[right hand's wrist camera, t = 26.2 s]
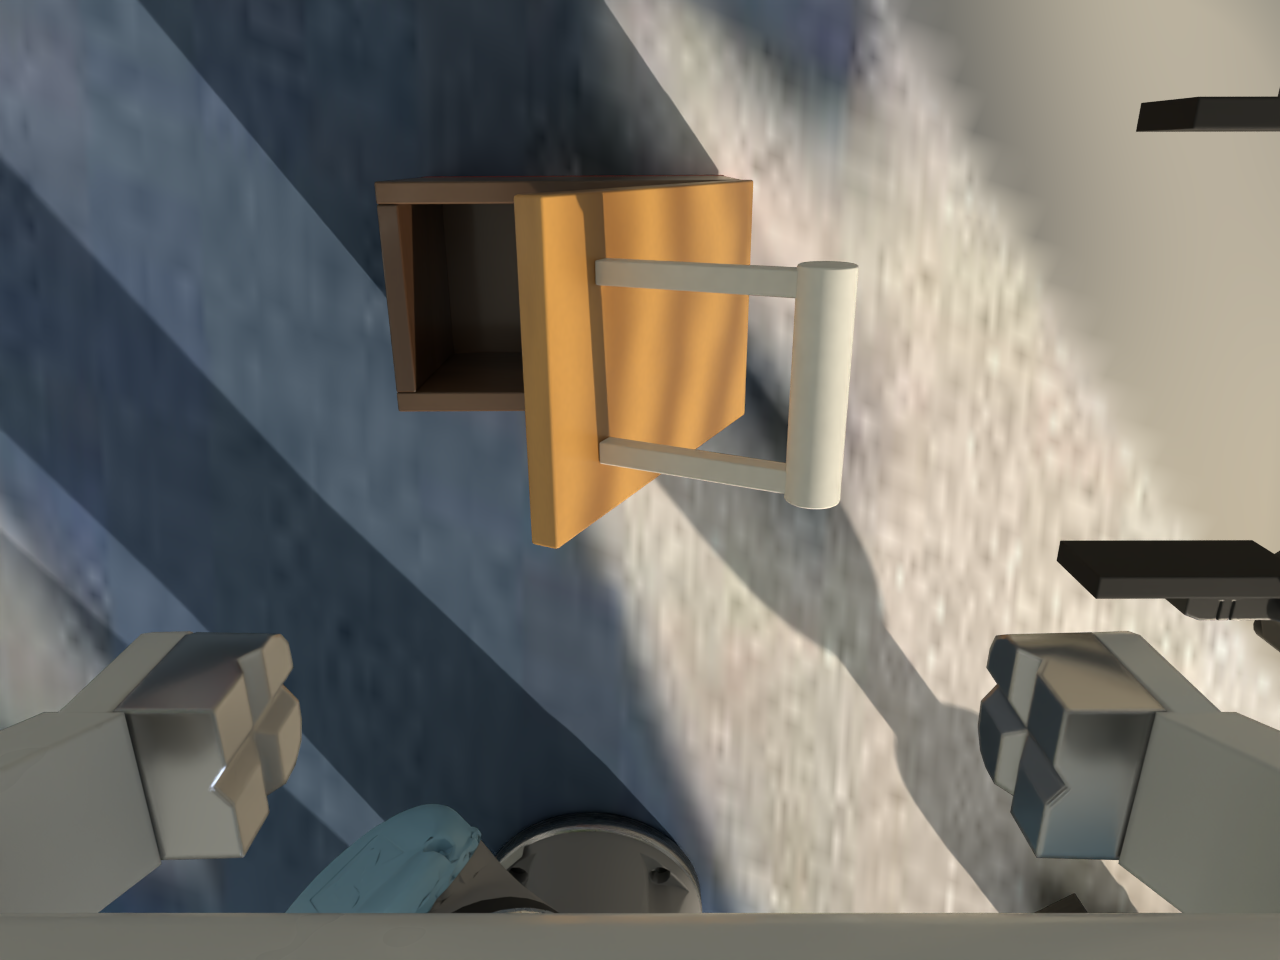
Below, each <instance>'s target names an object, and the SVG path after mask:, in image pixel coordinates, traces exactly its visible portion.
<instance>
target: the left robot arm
mask: <svg viewBox="0 0 1280 960" xmlns="http://www.w3.org/2000/svg"><path fill="white" fill-rule="evenodd" d="M1136 131H1137V132H1170V131H1171V132H1175V131H1176V132H1177V131H1179V132H1180V131H1182V132H1183V131H1280V89H1279V94H1278V97H1193V98H1184V99H1175V100H1165V101H1156V102H1147V103H1141V108H1140V114H1139V119H1138V124H1137V130H1136ZM1057 562H1059V563H1060V564H1061V565H1062V566H1063V567H1064V568H1065V569H1066V570H1067V571H1068V572H1069V573H1070V574H1071V575H1072V576H1073V577H1074V578H1075V579H1076V580H1077V581H1078V582H1079V583H1080V584H1081V585H1082V586H1083V587H1084V588H1085V589H1086V590H1088V591H1089V592H1090V593H1091V594H1092V595H1093V596H1094V597H1095V598H1096V599H1140V598H1165V599H1166V600H1167V601H1169V602H1170V603H1171V604H1172V605H1173V606H1175V607H1176V608H1177V609H1178V610H1179V611H1181V612H1182V613H1183V614H1184V615H1186V616H1189V617H1192V618H1194V619H1197V620H1215V619H1217V620H1228V619H1229V620H1255V621H1254V624H1253V625H1254V631H1255V632H1256V634H1257V635H1258V636H1260V637H1261V638H1262V639H1264V640H1265V641H1266V642H1267V643H1269V644H1270V645H1271V646H1273V647H1274V648H1275V649H1276V650H1278V651H1279V652H1280V551H1279V552H1277V553H1275V554H1273V553H1272V552H1270V551H1268V550H1267V549H1265V548H1264V547H1262V546H1261V545H1259V544H1257V543H1256V542H1254V541H1252V540H1192V541H1060V546H1059V551H1058V557H1057ZM285 913H702V904H701V892H700V886H699V881H698V878H697V875H696V872H695V870H694V868H693V866H692V864H691V862H690V861H689V859H688V858H687V856H686V855H685V854H684V852H683V851H682V850H681V849H680V848H679V847H678V846H677V845H676V844H675V843H674V842H673V841H672V840H671V839H669V838H668V837H667V836H665V835H664V834H662V833H661V832H659V831H658V830H656V829H654V828H652V827H650V826H648V825H646V824H644V823H642V822H639V821H636V820H634V819H630V818H627V817H623V816H618V815H613V814H605V813H575V814H567V815H562V816H557V817H554V818H550V819H547V820H544V821H541V822H539V823H536V824H534V825H532V826H530V827H528V828H526V829H525V830H523V831H522V832H520V833H518V834H517V835H516V836H514V837H513V838H512V839H511V840H510V841H508V842H507V843H506V844H505V845H504V846H503V847H502V849H501V850H500V851H499V852H498V853H497V855H496V856H495V857H494V855H493V854H492V853H491V852H490V851H489V849H488V848H487V847H486V846H485V844H484V843H483V842H482V841H481V833H480V831H479V830H478V828H476V827H471V826H470V825H469V824H468V823H467V822H466V821H465V820H464V819H463V818H462V817H461V816H460V815H459V814H458V813H457V812H456V811H455V810H453V809H452V808H450V807H448V806H445V805H440V804H426V805H420V806H417V807H413V808H411V809H408V810H405V811H403V812H401V813H399V814H397V815H395V816H393V817H391V818H390V819H388V820H387V821H385V822H383V823H381V824H380V825H378V826H376V827H375V828H373V829H372V830H370V831H369V832H368V833H366V834H365V835H363V836H362V837H361V838H359V839H358V840H357V841H356V842H355V843H353V844H352V845H351V846H350V847H348V848H347V849H346V850H345V851H344V852H342V853H341V854H340V855H339V856H338V857H337V858H335V859H334V860H333V861H332V862H331V863H330V864H329V865H328V866H327V867H326V868H325V869H324V870H323V871H322V872H321V873H320V874H319V875H318V876H317V877H316V878H315V879H314V880H313V881H312V882H311V883H310V884H309V885H308V886H307V888H306V889H305V890H304V891H303V892H302V893H301V894H300V895H299V897H298V898H297V899H296V900H295V901H294V902H293V904H292V905H291V906H290V907H289V909H288V910H287V911H286V912H285Z"/></svg>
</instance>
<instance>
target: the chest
mask: <svg viewBox="0 0 1280 960" xmlns="http://www.w3.org/2000/svg"><path fill="white" fill-rule="evenodd" d="M724 180H740V179H735V178H731V177H726V176H724V175H625V176H452V177H421V178H410V179H399V180H388V181H377V182H375V194H376V202H377V204H378V205H377V212H378V221H379V231H380V240H381V250H382V259H383V268H384V278H385V287H386V296H387V306H388V315H389V324H390V334H391V343H392V352H393V362H394V371H395V381H396V390H397V392H398V393H397V400H398V409H399V411H525V398H524V380H523V361H522V343H521V324H520V306H519V287H518V268H517V250H516V231H515V213H514V196H515V195H517V194H531V193H546V192H561V191H576V190H590V189H605V188H620V187H635V186H650V185H664V184H679V183H694V182H709V181H724Z"/></svg>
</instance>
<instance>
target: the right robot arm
mask: <svg viewBox="0 0 1280 960" xmlns="http://www.w3.org/2000/svg"><path fill="white" fill-rule="evenodd" d="M293 668H294V667H293V662H292V657H291V652H290V648H289V643H288V641H287V640H286V639H285V638H284V637H283V636H282V635H281V634H267V633H215V632H195V633H193V632H190V631H182V632H151V633H145V634H141V635H140V636H139V637H138V638H137V639H136V640H135V641H134V642H133V643H131V644H130V645H129V646H128V647H127V648H126V649H125V650H124V651H123V652H122V653H121V654H120V655H119V656H118V657H117V658H116V659H115V660H113V661H112V662H111V663H110V664H109V665H108V666H107V667H106V668H105V669H104V670H103V671H102V672H101V673H100V674H99V675H98V676H96V677H95V678H94V679H93V680H92V681H91V682H90V683H89V684H88V685H87V686H86V687H85V688H84V689H83V690H82V691H81V692H80V693H78V694H77V695H76V696H75V697H74V698H73V699H72V700H71V701H70V702H69V703H68V704H67V705H66V706H65V707H64V708H63V709H62V710H60V711H59V712H43V713H41V714H39V715H36V716H34V717H32V718H29V719H27V720H25V721H22V722H20V723H18V724H15V725H13V726H11V727H8V728H6V729H3V730H1V731H0V960H1280V731H1279V730H1276V729H1274V728H1272V727H1269V726H1267V725H1265V724H1262V723H1260V722H1258V721H1255V720H1253V719H1251V718H1248V717H1246V716H1244V715H1241V714H1239V713H1237V712H1221V711H1220V710H1219V709H1217V708H1216V707H1215V706H1214V705H1213V704H1212V703H1211V702H1210V701H1209V700H1208V699H1207V698H1206V697H1205V696H1204V695H1203V694H1202V693H1201V692H1200V691H1198V690H1197V689H1196V688H1195V687H1194V686H1193V685H1192V684H1191V683H1190V682H1189V681H1188V680H1187V679H1186V678H1185V677H1184V676H1183V675H1182V674H1180V673H1179V672H1178V671H1177V670H1176V669H1175V668H1174V667H1173V666H1172V665H1171V664H1170V663H1169V662H1168V661H1167V660H1166V659H1165V658H1164V657H1163V656H1161V655H1160V654H1159V653H1158V652H1157V651H1156V650H1155V649H1154V648H1153V647H1152V646H1151V645H1150V644H1149V643H1148V642H1147V641H1146V640H1145V639H1144V638H1142V637H1141V636H1140V635H1138V634H1135V633H1132V632H1129V631H1118V632H1093V633H1092V632H1087V633H1047V634H1007V635H997V636H995V638H994V641H993V643H992V645H991V647H990V650H989V656H988V661H987V667H986V668H987V669H988V671H989V672H990V674H991V675H992V677H993V678H994V680H995V682H996V683H997V685H996V686H995V687H994V688H993V689H992V690H991V691H990V692H989V693H988V694H987V695H986V696H985V697H984V698H983V699H982V700H981V705H980V713H979V721H978V733H979V743H980V751H981V754H982V758H983V761H984V764H985V767H986V769H987V771H988V773H989V775H990V776H991V778H992V780H993V782H994V784H996V785H997V786H999V787H1001V788H1002V789H1004V790H1005V791H1007V792H1008V793H1010V794H1011V795H1013V800H1012V806H1011V814H1012V816H1013V817H1014V819H1015V821H1016V823H1017V824H1018V826H1019V828H1020V830H1021V831H1022V833H1023V835H1024V837H1025V838H1026V840H1027V842H1028V843H1029V845H1030V847H1031V849H1032V850H1033V852H1034V854H1035V856H1036V857H1037V858H1064V859H1101V860H1119V863H1118V864H1120V865H1121V866H1122V867H1123V868H1125V869H1126V870H1127V871H1129V872H1130V873H1131V874H1133V875H1134V876H1135V877H1136V878H1138V879H1139V880H1140V881H1142V882H1143V883H1144V884H1146V885H1147V886H1148V887H1149V888H1151V889H1152V890H1153V891H1155V892H1156V893H1157V894H1159V895H1160V896H1161V897H1162V898H1164V899H1165V900H1166V901H1168V902H1169V903H1170V904H1172V905H1173V906H1174V907H1175V908H1177V909H1178V910H1179V911H1181V912H1182V913H98V912H100V911H101V910H102V909H103V908H105V907H106V906H107V905H109V904H110V903H111V902H113V901H114V900H115V899H116V898H118V897H119V896H120V895H122V894H123V893H124V892H126V891H127V890H128V889H130V888H131V887H132V886H133V885H135V884H136V883H137V882H139V881H140V880H141V879H143V878H144V877H145V876H146V875H148V874H149V873H150V872H152V871H153V870H154V869H156V868H157V867H158V866H160V865H161V860H179V859H214V858H244V856H245V854H246V852H247V851H248V849H249V847H250V845H251V844H252V842H253V840H254V838H255V837H256V835H257V833H258V831H259V830H260V828H261V826H262V824H263V823H264V821H265V819H266V817H267V816H268V814H269V806H268V801H267V795H269V794H270V793H272V792H273V791H275V790H276V789H278V788H279V787H281V786H283V785H284V784H286V782H287V780H288V778H289V776H290V774H291V773H292V771H293V769H294V767H295V765H296V761H297V757H298V753H299V748H300V744H301V737H302V718H301V711H300V704H299V700H298V699H297V698H296V697H295V696H294V695H293V694H292V693H291V692H290V691H289V690H288V689H287V688H286V687H285V686H284V685H283V683H284V682H285V680H286V678H287V677H288V675H289V674H290V672H291V671H292V669H293Z"/></svg>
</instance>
